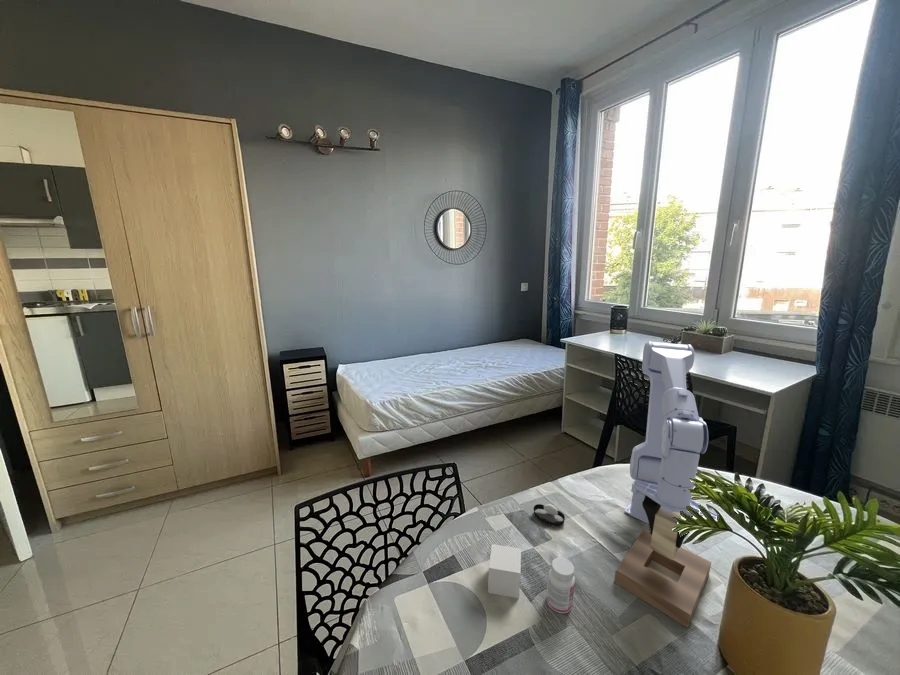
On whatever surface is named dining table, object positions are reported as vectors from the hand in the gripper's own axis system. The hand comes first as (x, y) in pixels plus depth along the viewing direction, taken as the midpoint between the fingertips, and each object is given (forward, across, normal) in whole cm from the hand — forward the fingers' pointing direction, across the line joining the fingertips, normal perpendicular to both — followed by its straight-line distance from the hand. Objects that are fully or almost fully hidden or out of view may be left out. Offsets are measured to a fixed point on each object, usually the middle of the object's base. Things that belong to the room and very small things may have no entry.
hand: (665, 538), depth 74 cm
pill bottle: (+10, -11, -20) cm, 25 cm away
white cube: (+10, -21, -24) cm, 34 cm away
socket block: (+9, 0, 0) cm, 9 cm away
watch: (+10, -25, -2) cm, 27 cm away
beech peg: (+2, 0, 0) cm, 2 cm away
